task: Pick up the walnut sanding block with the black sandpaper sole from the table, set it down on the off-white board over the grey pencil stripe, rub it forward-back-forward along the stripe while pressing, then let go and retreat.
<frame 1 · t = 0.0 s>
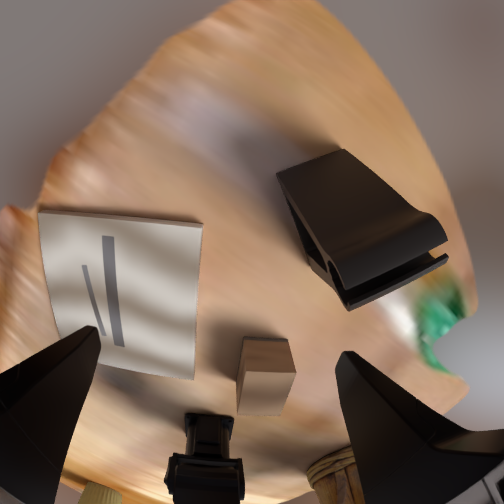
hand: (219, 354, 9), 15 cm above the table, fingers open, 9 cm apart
tankard: (345, 457, 41), on the table
sanding block: (260, 361, 29), on the table
phone stand: (326, 209, 23), on the table
potted cactus: (104, 488, 49), on the table
board: (117, 300, 25), on the table
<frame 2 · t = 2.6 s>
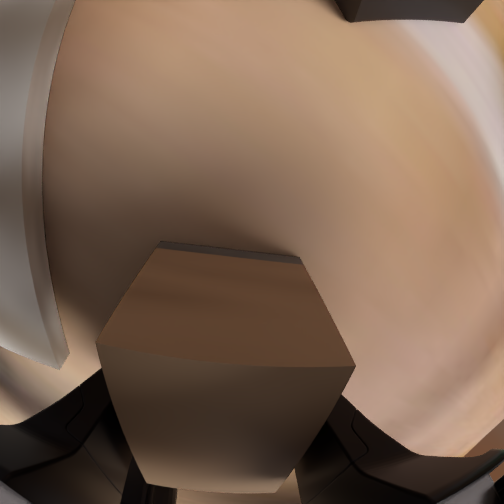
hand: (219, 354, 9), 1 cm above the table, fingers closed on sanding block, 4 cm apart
sanding block: (220, 336, 10), on the table, touching gripper
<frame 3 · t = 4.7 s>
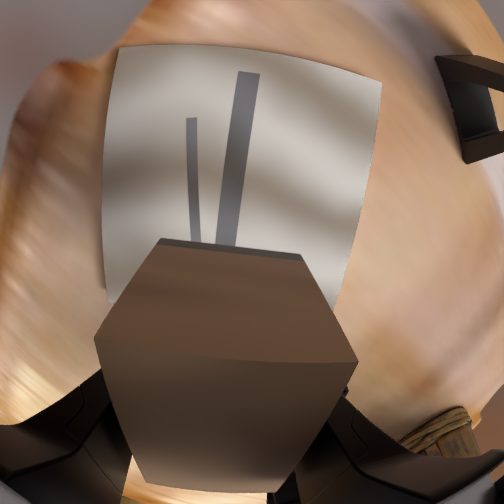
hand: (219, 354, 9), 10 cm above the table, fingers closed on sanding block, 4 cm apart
tankard: (423, 434, 33), on the table
sanding block: (220, 334, 10), point 9 cm above the table, touching gripper
phone stand: (470, 105, 15), on the table
potted cactus: (123, 499, 42), on the table
board: (232, 188, 17), on the table
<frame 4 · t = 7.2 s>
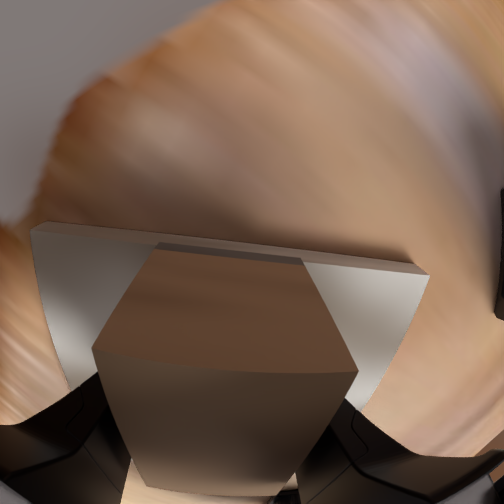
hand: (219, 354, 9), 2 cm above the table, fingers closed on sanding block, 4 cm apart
sanding block: (220, 338, 10), point 1 cm above the table, touching gripper
board: (215, 396, 13), on the table
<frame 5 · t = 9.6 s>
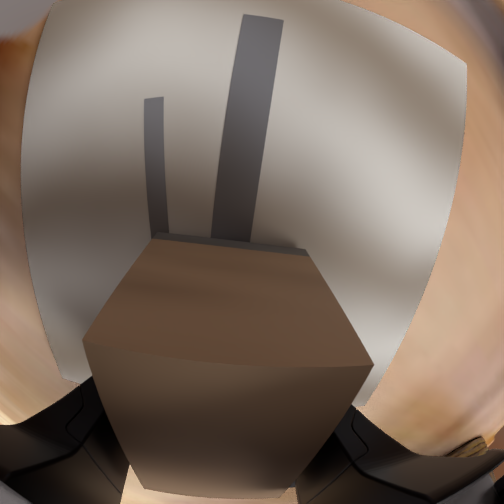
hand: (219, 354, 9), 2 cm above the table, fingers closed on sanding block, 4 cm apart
tankard: (438, 465, 26), on the table
sanding block: (220, 333, 10), point 1 cm above the table, touching gripper
board: (231, 225, 10), on the table
when the fingers open (2 cm above the table, at t = 11.8 s): sanding block stays where it is, resting on board.
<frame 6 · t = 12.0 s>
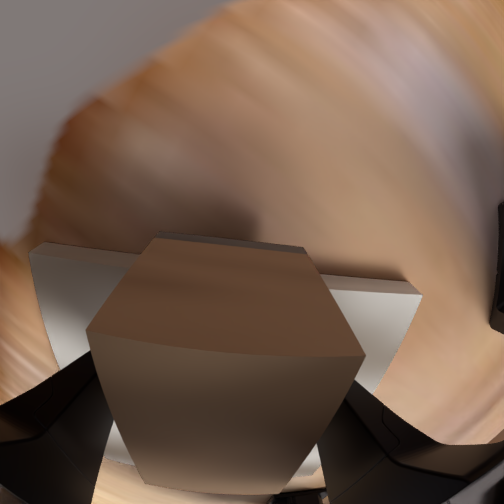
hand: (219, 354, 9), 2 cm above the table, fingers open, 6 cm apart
sanding block: (221, 331, 10), point 1 cm above the table, touching board
board: (213, 406, 13), on the table
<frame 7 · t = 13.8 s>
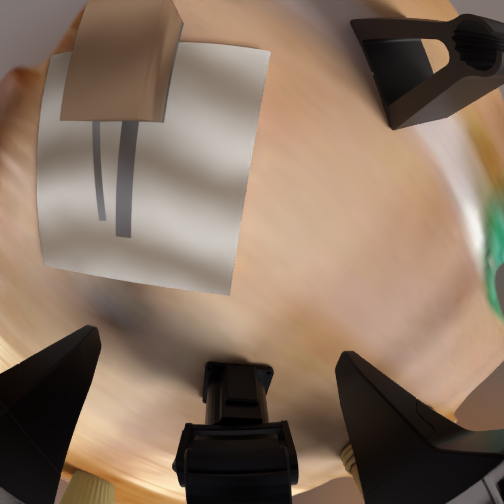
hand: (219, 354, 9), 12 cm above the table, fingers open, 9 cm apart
tankard: (385, 432, 35), on the table
sanding block: (139, 70, 14), point 1 cm above the table, touching board
phone stand: (401, 69, 15), on the table
potted cactus: (94, 478, 44), on the table
board: (132, 163, 17), on the table
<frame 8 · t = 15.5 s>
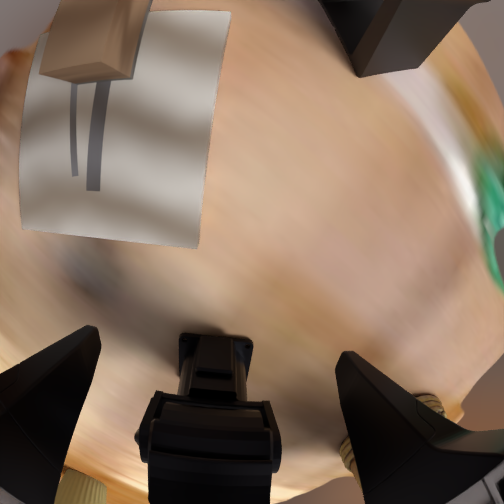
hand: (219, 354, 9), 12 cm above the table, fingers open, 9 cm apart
tankard: (387, 425, 33), on the table
sanding block: (113, 38, 13), point 1 cm above the table, touching board
phone stand: (364, 25, 15), on the table
potted cactus: (86, 478, 41), on the table
board: (105, 121, 16), on the table
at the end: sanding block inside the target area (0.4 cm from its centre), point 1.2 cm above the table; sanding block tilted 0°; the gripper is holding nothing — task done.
